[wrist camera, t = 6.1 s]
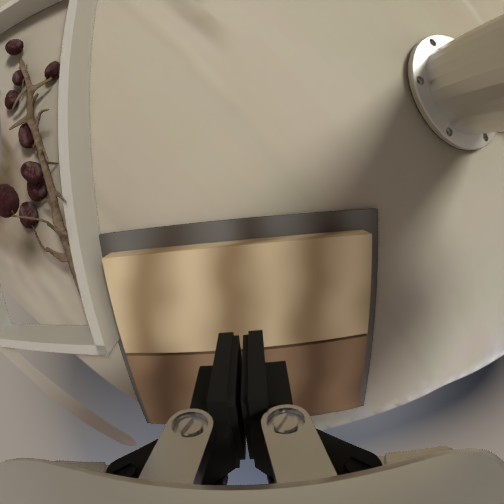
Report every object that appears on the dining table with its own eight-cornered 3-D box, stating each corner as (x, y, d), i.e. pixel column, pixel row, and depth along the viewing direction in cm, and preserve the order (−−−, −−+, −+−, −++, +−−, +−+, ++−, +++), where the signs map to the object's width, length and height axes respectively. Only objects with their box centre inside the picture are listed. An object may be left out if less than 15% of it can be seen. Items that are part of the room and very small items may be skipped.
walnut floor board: (375, 208, 25) (387, 211, 23) (362, 403, 30) (368, 416, 28) (95, 234, 25) (83, 240, 23) (147, 420, 30) (143, 434, 28)
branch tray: (100, -21, 18) (86, -39, 14) (122, 334, 27) (108, 355, 23) (-10, 35, 18) (-28, 28, 14) (9, 330, 27) (-9, 345, 23)
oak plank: (362, 229, 25) (372, 234, 23) (360, 323, 27) (367, 333, 25) (110, 252, 25) (101, 258, 23) (131, 342, 27) (125, 352, 25)
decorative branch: (-21, 32, 13) (44, 317, 13) (50, 27, 20) (158, 259, 21) (-34, 109, 20) (35, 346, 20) (25, 97, 27) (109, 303, 28)
